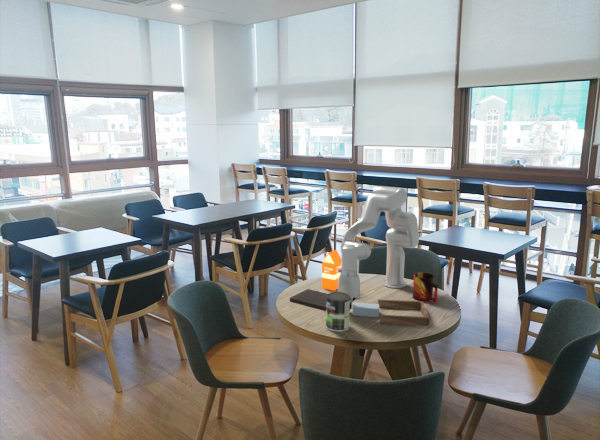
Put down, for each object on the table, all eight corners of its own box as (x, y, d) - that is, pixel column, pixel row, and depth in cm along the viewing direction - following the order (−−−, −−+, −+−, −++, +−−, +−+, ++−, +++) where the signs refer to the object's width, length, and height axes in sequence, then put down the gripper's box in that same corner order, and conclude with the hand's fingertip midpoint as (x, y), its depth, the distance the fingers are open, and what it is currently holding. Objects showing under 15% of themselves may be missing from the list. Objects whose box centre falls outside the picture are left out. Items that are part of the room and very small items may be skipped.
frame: (377, 306, 226) (378, 299, 226) (422, 308, 224) (422, 301, 223) (380, 323, 207) (380, 315, 206) (428, 325, 205) (429, 318, 204)
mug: (435, 305, 228) (437, 281, 226) (409, 298, 236) (410, 276, 234) (443, 299, 236) (444, 276, 233) (417, 293, 244) (418, 271, 242)
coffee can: (334, 333, 196) (334, 302, 194) (321, 324, 205) (321, 294, 202) (354, 328, 201) (355, 297, 199) (340, 320, 210) (341, 290, 207)
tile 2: (365, 311, 220) (366, 303, 220) (378, 312, 220) (379, 304, 219) (365, 316, 215) (365, 308, 214) (378, 317, 214) (379, 308, 213)
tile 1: (352, 310, 221) (353, 302, 220) (365, 311, 220) (366, 303, 220) (352, 315, 215) (352, 307, 215) (365, 316, 215) (365, 307, 214)
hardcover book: (307, 293, 246) (307, 288, 245) (345, 302, 233) (346, 298, 232) (289, 302, 233) (289, 297, 233) (328, 312, 220) (328, 308, 220)
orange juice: (342, 286, 255) (342, 250, 251) (334, 290, 248) (335, 254, 244) (329, 283, 259) (330, 248, 255) (321, 287, 252) (321, 252, 248)
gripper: (332, 274, 212) (331, 312, 215) (365, 275, 210) (364, 314, 213) (333, 269, 219) (332, 306, 222) (365, 270, 217) (364, 308, 221)
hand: (348, 310), depth 218 cm, fingers closed
